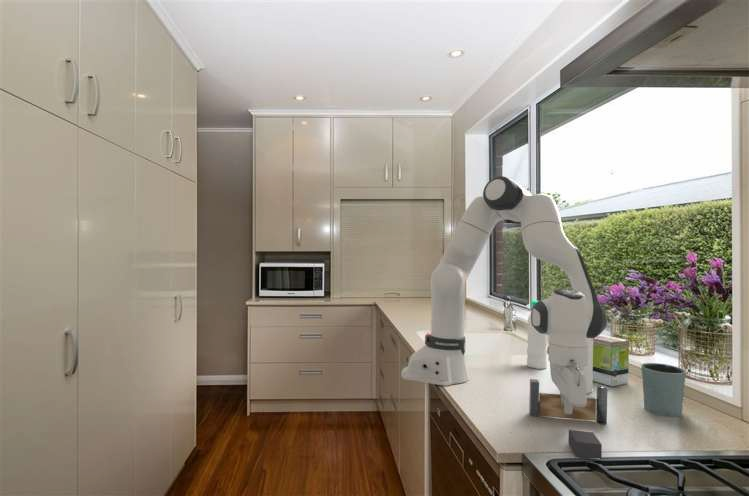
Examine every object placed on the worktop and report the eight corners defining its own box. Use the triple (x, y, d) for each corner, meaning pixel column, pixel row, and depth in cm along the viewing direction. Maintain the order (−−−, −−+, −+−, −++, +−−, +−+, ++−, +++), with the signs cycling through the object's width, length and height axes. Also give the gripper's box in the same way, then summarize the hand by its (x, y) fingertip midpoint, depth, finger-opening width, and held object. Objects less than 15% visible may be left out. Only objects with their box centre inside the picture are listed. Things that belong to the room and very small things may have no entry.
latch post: (530, 415, 107) (531, 381, 107) (528, 411, 110) (529, 377, 110) (548, 417, 106) (548, 383, 106) (546, 413, 109) (546, 379, 109)
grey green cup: (684, 409, 114) (684, 366, 114) (686, 421, 106) (687, 375, 106) (640, 401, 120) (641, 360, 120) (640, 412, 111) (641, 368, 112)
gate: (593, 418, 105) (594, 396, 105) (595, 420, 104) (596, 398, 104) (539, 414, 107) (539, 392, 107) (540, 416, 106) (540, 394, 106)
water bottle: (522, 365, 157) (524, 300, 157) (536, 363, 159) (538, 299, 160) (536, 370, 150) (538, 302, 150) (551, 368, 153) (552, 301, 153)
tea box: (629, 383, 137) (630, 339, 137) (611, 387, 132) (612, 342, 132) (587, 371, 150) (588, 331, 150) (569, 374, 145) (570, 333, 146)
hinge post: (597, 423, 103) (598, 388, 103) (594, 419, 105) (595, 385, 106) (607, 424, 103) (608, 389, 103) (605, 421, 105) (605, 386, 105)
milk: (583, 395, 124) (584, 323, 124) (563, 389, 129) (565, 320, 129) (592, 391, 128) (594, 321, 128) (573, 386, 133) (574, 318, 133)
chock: (575, 458, 86) (575, 441, 86) (568, 445, 92) (568, 429, 92) (601, 461, 85) (601, 444, 85) (592, 448, 90) (592, 432, 90)
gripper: (594, 368, 90) (594, 430, 90) (571, 347, 110) (570, 398, 110) (564, 365, 91) (563, 427, 91) (546, 345, 111) (545, 396, 111)
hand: (566, 411), depth 101 cm, fingers closed
